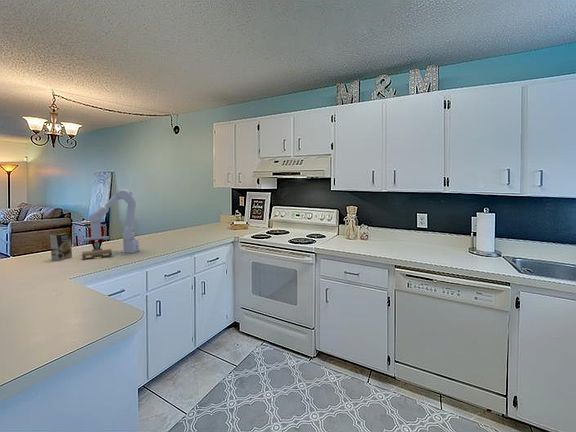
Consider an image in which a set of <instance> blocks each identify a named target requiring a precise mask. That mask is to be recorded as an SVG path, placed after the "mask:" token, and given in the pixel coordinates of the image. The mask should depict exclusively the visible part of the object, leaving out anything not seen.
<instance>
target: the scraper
mask: <svg viewBox="0 0 576 432" xmlns="http://www.w3.org/2000/svg"><path fill="white" fill-rule="evenodd" d="M97 250H103V248H100V249H99V241H98V242H96V241H95V249H94V248H93V249H91V251H97ZM103 255H104V254H98V255H91V258H92V259H93V257H94V256H102V258H103Z"/></svg>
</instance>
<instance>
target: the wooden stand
mask: <svg viewBox="0 0 576 432" xmlns="http://www.w3.org/2000/svg"><path fill="white" fill-rule="evenodd" d="M98 254H103V255H106V254H107V255H108V257H109V258H111V257H112V255H113V252H112V249H111V248H109V249H102V250H97V251H92V250H89V251H82V253H81V256H82V260H83V261H85V260H86V258H87V256H88V257H89V256H92V255H98Z"/></svg>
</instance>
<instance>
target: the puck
mask: <svg viewBox="0 0 576 432" xmlns="http://www.w3.org/2000/svg"><path fill="white" fill-rule="evenodd" d="M92 259H93V260H100V259H103V257H102V256H94V257H93V258H92Z"/></svg>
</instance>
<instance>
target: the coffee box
mask: <svg viewBox="0 0 576 432" xmlns="http://www.w3.org/2000/svg"><path fill="white" fill-rule="evenodd" d="M71 236H72V235H71V232H61V233H54V234H49V239H50V240H49V241H50V253H51V260H53V261H62V260H67V259H69V258H73V251H72V237H71Z"/></svg>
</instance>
